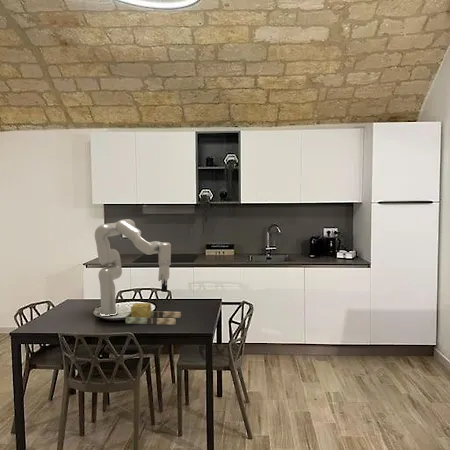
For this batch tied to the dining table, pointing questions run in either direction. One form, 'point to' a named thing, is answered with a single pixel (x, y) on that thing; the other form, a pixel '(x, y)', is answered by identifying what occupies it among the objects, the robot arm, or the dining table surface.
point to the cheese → (141, 310)
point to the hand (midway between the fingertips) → (164, 291)
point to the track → (168, 320)
